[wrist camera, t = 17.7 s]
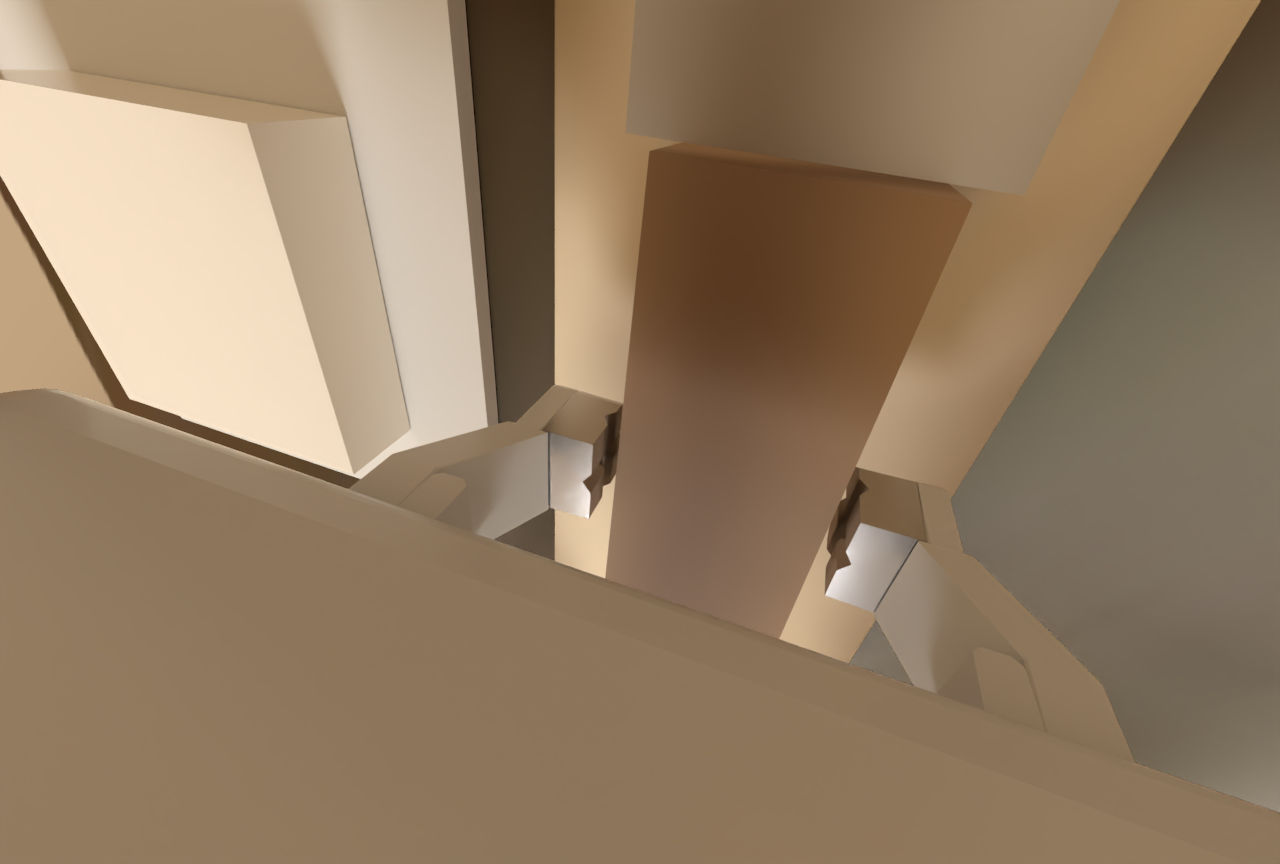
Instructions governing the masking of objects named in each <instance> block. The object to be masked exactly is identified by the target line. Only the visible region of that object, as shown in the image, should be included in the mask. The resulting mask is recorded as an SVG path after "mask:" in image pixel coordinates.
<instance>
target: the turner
mask: <svg viewBox="0 0 1280 864" xmlns="http://www.w3.org/2000/svg"><path fill="white" fill-rule="evenodd" d="M1119 2H1120V0H636V3H635V16H634V29H633V41H632V54H631V67H630V80H629V92H628V105H627V118H626V131H625V133H628V134H635V135H641V136H648V137H654V138H660V139H667V140H673V141H679V142H682V143H678V144H674V145H671V146H667V147H663V148H659V149H655V150H651V151H649V159H648V169H647V179H646V188H645V198H644V208H643V217H642V227H641V237H640V246H639V256H638V266H637V275H636V285H635V295H634V304H633V314H632V324H631V333H630V343H629V353H628V362H627V372H626V382H625V391H624V401H623V411H622V420H621V430H620V440H619V450H618V459H617V469H616V479H615V488H614V498H613V508H612V517H611V527H610V537H609V546H608V556H607V566H606V575H605V579H608V580H611V581H614V582H617V583H620V584H623V585H626V586H628V587H631V588H634V589H637V590H640V591H643V592H646V593H648V594H651V595H654V596H657V597H660V598H663V599H666V600H669V601H671V602H674V603H677V604H680V605H683V606H686V607H689V608H691V609H694V610H697V611H700V612H703V613H706V614H709V615H712V616H714V617H717V618H720V619H723V620H726V621H729V622H732V623H734V624H737V625H740V626H743V627H746V628H749V629H752V630H755V631H757V632H760V633H763V634H766V635H769V636H772V637H775V638H777V639H779V638H780V636H781V634H782V631H783V629H784V627H785V625H786V622H787V620H788V618H789V616H790V613H791V611H792V609H793V607H794V604H795V602H796V600H797V598H798V595H799V593H800V591H801V589H802V586H803V584H804V582H805V580H806V577H807V575H808V573H809V571H810V568H811V566H812V564H813V562H814V559H815V557H816V555H817V553H818V550H819V548H820V546H821V544H822V541H823V539H824V537H825V535H826V532H827V530H828V528H829V526H830V523H831V521H832V519H833V517H834V514H835V512H836V510H837V508H838V505H839V503H840V501H841V499H842V496H843V494H844V492H845V490H846V487H847V485H848V483H849V481H850V478H851V476H852V474H853V472H854V469H855V467H856V465H857V463H858V460H859V458H860V456H861V454H862V451H863V449H864V447H865V445H866V442H867V440H868V438H869V436H870V433H871V431H872V429H873V427H874V424H875V422H876V420H877V418H878V415H879V413H880V411H881V409H882V406H883V404H884V402H885V400H886V397H887V395H888V393H889V391H890V388H891V386H892V384H893V382H894V379H895V377H896V375H897V373H898V370H899V368H900V366H901V364H902V361H903V359H904V357H905V355H906V352H907V350H908V348H909V346H910V344H911V341H912V339H913V337H914V335H915V332H916V330H917V328H918V326H919V323H920V321H921V319H922V317H923V314H924V312H925V310H926V308H927V305H928V303H929V301H930V299H931V296H932V294H933V292H934V290H935V287H936V285H937V283H938V281H939V278H940V276H941V274H942V272H943V269H944V267H945V265H946V263H947V260H948V258H949V256H950V254H951V251H952V249H953V247H954V245H955V242H956V240H957V238H958V236H959V233H960V231H961V229H962V227H963V224H964V222H965V220H966V218H967V215H968V213H969V211H970V209H971V206H972V204H973V203H971V202H970V201H969V200H968V199H966V198H965V197H964V196H963V195H962V194H960V193H959V192H958V191H957V190H956V189H954V188H953V187H952V186H951V185H949V184H954V185H960V186H967V187H973V188H979V189H986V190H992V191H999V192H1005V193H1011V194H1018V195H1024V194H1025V192H1026V190H1027V188H1028V186H1029V184H1030V182H1031V180H1032V178H1033V176H1034V174H1035V172H1036V170H1037V168H1038V166H1039V164H1040V162H1041V160H1042V158H1043V156H1044V154H1045V152H1046V150H1047V148H1048V146H1049V144H1050V142H1051V140H1052V138H1053V136H1054V134H1055V132H1056V130H1057V128H1058V126H1059V124H1060V122H1061V120H1062V117H1063V115H1064V113H1065V111H1066V109H1067V107H1068V105H1069V103H1070V101H1071V99H1072V97H1073V95H1074V93H1075V91H1076V89H1077V87H1078V85H1079V83H1080V81H1081V79H1082V77H1083V75H1084V73H1085V71H1086V69H1087V67H1088V65H1089V63H1090V61H1091V59H1092V57H1093V55H1094V53H1095V51H1096V49H1097V47H1098V45H1099V43H1100V41H1101V39H1102V36H1103V34H1104V32H1105V30H1106V28H1107V26H1108V24H1109V22H1110V20H1111V18H1112V16H1113V14H1114V12H1115V10H1116V8H1117V6H1118V4H1119Z"/></svg>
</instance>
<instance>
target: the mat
mask: <svg viewBox="0 0 1280 864" xmlns="http://www.w3.org/2000/svg"><path fill="white" fill-rule="evenodd" d="M0 69H3V70H69V71H75V72H81V73H87V74H93V75H99V76H105V77H111V78H117V79H123V80H129V81H135V82H141V83H147V84H153V85H159V86H165V87H171V88H177V89H183V90H189V91H195V92H201V93H207V94H213V95H219V96H225V97H231V98H237V99H243V100H249V101H255V102H261V103H267V104H273V105H279V106H285V107H291V108H297V109H303V110H309V111H315V112H321V113H327V114H333V115H339V116H345V117H346V119H347V124H348V129H349V134H350V139H351V144H352V149H353V153H354V158H355V163H356V168H357V173H358V178H359V183H360V188H361V192H362V197H363V202H364V207H365V212H366V217H367V222H368V226H369V231H370V236H371V241H372V246H373V251H374V256H375V261H376V265H377V270H378V275H379V280H380V285H381V290H382V295H383V300H384V304H385V309H386V314H387V319H388V324H389V329H390V334H391V339H392V343H393V348H394V353H395V358H396V363H397V368H398V373H399V377H400V382H401V387H402V392H403V397H404V402H405V407H406V412H407V416H408V421H409V426H410V431H408V432H407V433H406V434H404V435H403V436H402V437H401V438H399V439H398V440H397V441H396V442H394V443H393V444H392V445H391V446H389V447H388V448H387V449H386V450H384V451H383V452H382V453H380V454H379V455H378V456H377V457H375V458H374V459H373V460H372V461H370V462H369V463H368V464H367V465H365V466H364V467H363V468H362V469H360V470H359V471H358V472H356V473H355V474H354V475H353V474H350V473H347V472H344V471H342V470H339V469H336V468H333V467H330V466H327V465H324V464H321V463H318V462H315V461H312V460H309V459H306V458H303V457H300V456H297V455H294V454H291V453H288V452H285V451H282V450H279V449H277V448H274V447H271V446H268V445H265V444H262V443H259V442H256V441H253V440H250V439H247V438H244V437H241V436H238V435H235V434H232V433H229V432H226V431H223V430H220V429H217V428H215V427H212V426H209V425H206V424H203V423H200V422H197V421H194V420H191V419H188V418H185V417H182V416H181V418H183V419H186V420H189V421H192V422H194V423H197V424H200V425H203V426H206V427H209V428H212V429H215V430H218V431H221V432H224V433H227V434H230V435H233V436H236V437H239V438H242V439H245V440H247V441H250V442H253V443H256V444H259V445H262V446H265V447H268V448H271V449H274V450H277V451H280V452H283V453H286V454H289V455H292V456H295V457H298V458H301V459H303V460H306V461H309V462H312V463H315V464H318V465H321V466H324V467H327V468H330V469H333V470H336V471H339V472H342V473H345V474H348V475H351V476H354V477H356V478H359V479H362V478H363V477H364V476H365V475H367V474H368V473H369V472H370V471H372V470H373V469H374V468H375V467H377V466H378V465H379V464H380V463H382V462H383V461H384V460H385V459H387V458H388V457H389V456H390V455H392V454H394V453H397V452H401V451H404V450H408V449H411V448H415V447H418V446H422V445H426V444H429V443H433V442H436V441H440V440H443V439H447V438H450V437H454V436H458V435H461V434H465V433H468V432H472V431H475V430H479V429H482V428H486V427H490V426H493V425H497V424H499V423H498V410H497V397H496V385H495V372H494V360H493V347H492V334H491V322H490V309H489V297H488V284H487V272H486V259H485V246H484V234H483V221H482V209H481V196H480V183H479V171H478V158H477V146H476V133H475V121H474V108H473V95H472V83H471V70H470V58H469V45H468V32H467V20H466V7H465V0H0Z"/></svg>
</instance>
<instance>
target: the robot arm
mask: <svg viewBox="0 0 1280 864" xmlns="http://www.w3.org/2000/svg"><path fill="white" fill-rule="evenodd" d="M622 411H623V403H620V402H617V401H614V400H610V399H607V398H603V397H600V396H596V395H593V394H590V393H586V392H583V391H578V390H576V389H572V388H568V387H565V386H561V385H553V386H552V387H551V388H550V389H549V390H548V391H547V392H546V393H545V394H544V395H543V396H542V397H541V398H540V399H539V400H538V401H537V402H536V403H535V404H534V405H533V406H532V407H531V408H530V409H529V410H528V411H527V412H526V413H525V414H524V415H523V416H522V417H521V418H520V419H519V420H518V421H517V422H516V423H514V422H510V421H507V422H504V423H500V424H497V425H493V426H490V427H486V428H482V429H479V430H475V431H472V432H468V433H465V434H461V435H458V436H454V437H450V438H447V439H443V440H440V441H436V442H433V443H429V444H426V445H422V446H418V447H415V448H411V449H408V450H404V451H401V452H397V453H394V454H392V455H390V456H389V457H388V458H387V459H385V460H384V461H383V462H382V463H380V464H379V465H378V466H377V467H375V468H374V469H373V470H372V471H370V472H369V473H368V474H367V475H365V476H364V477H363V478H362V479H360V480H359V481H358V482H357V483H355V484H354V485H353V486H352V487H350V488H349V489H346V488H343V487H341V486H338V485H335V484H332V483H329V482H326V481H323V480H320V479H318V478H315V477H312V476H309V475H306V474H303V473H300V472H297V471H295V470H292V469H289V468H286V467H283V466H280V465H277V464H274V463H271V462H269V461H266V460H263V459H260V458H257V457H254V456H251V455H248V454H246V453H243V452H240V451H237V450H234V449H231V448H228V447H225V446H223V445H220V444H217V443H214V442H211V441H208V440H205V439H202V438H200V437H197V436H194V435H191V434H188V433H185V432H182V431H179V430H177V429H174V428H171V427H168V426H165V425H162V424H159V423H156V422H154V421H151V420H148V419H145V418H142V417H139V416H136V415H134V414H131V413H128V412H125V411H122V410H119V409H116V408H113V407H111V406H107V405H105V404H102V403H99V402H96V401H93V400H91V399H88V398H85V397H82V396H79V395H76V394H73V393H70V392H66V391H61V390H57V389H32V390H21V391H12V392H4V393H0V864H1280V813H1278V812H1275V811H1272V810H1270V809H1267V808H1264V807H1261V806H1258V805H1255V804H1252V803H1249V802H1247V801H1244V800H1241V799H1238V798H1235V797H1232V796H1229V795H1226V794H1223V793H1221V792H1218V791H1215V790H1212V789H1209V788H1206V787H1203V786H1200V785H1198V784H1195V783H1192V782H1189V781H1186V780H1183V779H1180V778H1177V777H1174V776H1172V775H1169V774H1166V773H1163V772H1160V771H1157V770H1154V769H1151V768H1149V767H1146V766H1143V765H1140V764H1137V763H1135V761H1134V758H1133V756H1132V754H1131V751H1130V749H1129V747H1128V744H1127V742H1126V739H1125V737H1124V735H1123V732H1122V730H1121V728H1120V725H1119V723H1118V720H1117V718H1116V716H1115V713H1114V711H1113V709H1112V706H1111V704H1110V701H1109V699H1108V697H1107V694H1106V692H1105V690H1104V687H1103V685H1102V684H1101V683H1100V682H1099V681H1098V680H1097V679H1096V678H1095V677H1094V676H1093V675H1092V674H1091V673H1090V672H1089V671H1088V670H1087V669H1086V668H1085V667H1084V666H1083V665H1082V664H1081V663H1080V662H1079V661H1078V660H1077V659H1076V658H1075V657H1074V656H1073V655H1072V654H1071V653H1070V652H1069V651H1068V650H1067V649H1066V648H1065V647H1064V646H1063V645H1062V644H1061V643H1060V642H1059V641H1058V640H1057V639H1056V638H1055V637H1054V636H1053V635H1052V634H1051V633H1050V632H1049V631H1048V630H1047V629H1046V628H1045V627H1044V626H1043V625H1042V624H1041V623H1040V622H1039V621H1038V620H1037V619H1036V618H1035V617H1034V616H1033V615H1032V614H1031V613H1030V612H1029V611H1028V610H1027V609H1026V608H1025V607H1024V606H1023V605H1022V604H1021V603H1020V602H1019V601H1018V600H1017V599H1016V598H1015V597H1014V596H1013V595H1012V594H1011V593H1010V592H1009V591H1008V590H1007V589H1006V588H1005V587H1004V586H1003V585H1002V584H1001V583H1000V582H999V581H998V580H997V579H996V578H995V577H994V576H993V575H992V574H991V573H990V572H989V571H988V570H986V569H985V568H984V567H983V566H982V565H981V564H980V563H979V562H978V561H977V560H976V559H975V558H974V557H973V556H970V555H966V554H964V552H963V548H962V544H961V540H960V536H959V532H958V528H957V524H956V520H955V517H954V513H953V509H952V505H951V501H950V497H949V493H948V491H947V490H946V489H945V488H941V487H937V486H933V485H928V484H924V483H920V482H916V481H910V480H906V479H902V478H898V477H894V476H890V475H886V474H882V473H878V472H874V471H870V470H866V469H862V468H858V467H855V469H854V472H853V474H852V476H851V478H850V481H849V483H848V485H847V487H846V498H845V499H843V500H841V501H840V503H839V505H838V508H837V510H836V512H835V514H834V517H833V519H832V521H831V523H830V527H829V531H828V538H827V550H828V552H829V553H830V555H831V557H830V559H829V561H828V563H827V565H826V572H825V596H828V597H831V598H833V599H836V600H839V601H842V602H845V603H848V604H850V605H853V606H856V607H859V608H862V609H865V610H868V611H870V612H873V613H874V614H873V615H874V617H875V619H876V620H877V622H878V624H879V626H880V627H881V629H882V631H883V633H884V634H885V636H886V638H887V640H888V641H889V643H890V645H891V647H892V648H893V650H894V652H895V654H896V655H897V657H898V659H899V661H900V662H901V664H902V666H903V668H904V669H905V671H906V673H907V675H908V676H909V678H910V680H911V682H912V683H913V685H914V686H913V685H910V684H907V683H904V682H901V681H898V680H895V679H893V678H890V677H887V676H884V675H881V674H878V673H875V672H872V671H870V670H867V669H864V668H861V667H858V666H855V665H852V664H849V663H846V662H844V661H841V660H838V659H835V658H832V657H829V656H826V655H823V654H821V653H818V652H815V651H812V650H809V649H806V648H803V647H800V646H798V645H795V644H792V643H789V642H786V641H783V640H780V639H777V638H775V637H772V636H769V635H766V634H763V633H760V632H757V631H755V630H752V629H749V628H746V627H743V626H740V625H737V624H734V623H732V622H729V621H726V620H723V619H720V618H717V617H714V616H712V615H709V614H706V613H703V612H700V611H697V610H694V609H691V608H689V607H686V606H683V605H680V604H677V603H674V602H671V601H669V600H666V599H663V598H660V597H657V596H654V595H651V594H648V593H646V592H643V591H640V590H637V589H634V588H631V587H628V586H626V585H623V584H620V583H617V582H614V581H611V580H608V579H605V578H603V577H600V576H597V575H594V574H591V573H588V572H585V571H582V570H579V569H576V568H574V567H571V566H568V565H565V564H562V563H559V562H556V561H553V560H550V559H548V558H545V557H542V556H539V555H536V554H533V553H530V552H527V551H524V550H521V549H519V548H516V547H513V546H510V545H507V544H504V543H501V542H498V541H495V540H493V539H495V538H497V537H499V536H501V535H502V534H504V533H506V532H508V531H510V530H512V529H513V528H515V527H517V526H519V525H521V524H523V523H524V522H526V521H528V520H530V519H532V518H534V517H535V516H537V515H539V514H541V513H543V512H545V511H546V510H548V507H550V508H553V509H557V510H560V511H563V512H567V513H570V514H574V515H577V516H580V517H584V518H587V519H589V518H590V516H591V515H592V513H593V511H594V510H595V508H596V506H597V505H598V503H599V502H600V500H601V498H602V493H603V486H605V485H607V484H610V483H611V481H612V480H613V478H614V476H615V474H616V469H617V459H618V450H619V440H620V430H621V420H622Z"/></svg>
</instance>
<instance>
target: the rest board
mask: <svg viewBox="0 0 1280 864" xmlns="http://www.w3.org/2000/svg"><path fill="white" fill-rule="evenodd" d="M1260 1H1261V0H1120V2H1119V4H1118V6H1117V8H1116V10H1115V12H1114V14H1113V16H1112V18H1111V20H1110V22H1109V24H1108V26H1107V28H1106V30H1105V32H1104V34H1103V36H1102V39H1101V41H1100V43H1099V45H1098V47H1097V49H1096V51H1095V53H1094V55H1093V57H1092V59H1091V61H1090V63H1089V65H1088V67H1087V69H1086V71H1085V73H1084V75H1083V77H1082V79H1081V81H1080V83H1079V85H1078V87H1077V89H1076V91H1075V93H1074V95H1073V97H1072V99H1071V101H1070V103H1069V105H1068V107H1067V109H1066V111H1065V113H1064V115H1063V117H1062V120H1061V122H1060V124H1059V126H1058V128H1057V130H1056V132H1055V134H1054V136H1053V138H1052V140H1051V142H1050V144H1049V146H1048V148H1047V150H1046V152H1045V154H1044V156H1043V158H1042V160H1041V162H1040V164H1039V166H1038V168H1037V170H1036V172H1035V174H1034V176H1033V178H1032V180H1031V182H1030V184H1029V186H1028V188H1027V190H1026V192H1025V194H1024V195H1018V194H1011V193H1005V192H999V191H992V190H986V189H979V188H973V187H967V186H960V185H954V184H949V185H951V186H952V187H953V188H954V189H956V190H957V191H958V192H959V193H960V194H962V195H963V196H964V197H965V198H966V199H968V200H969V201H970V202H971V203H973V204H972V206H971V209H970V211H969V213H968V215H967V218H966V220H965V222H964V224H963V227H962V229H961V231H960V233H959V236H958V238H957V240H956V242H955V245H954V247H953V249H952V251H951V254H950V256H949V258H948V260H947V263H946V265H945V267H944V269H943V272H942V274H941V276H940V278H939V281H938V283H937V285H936V287H935V290H934V292H933V294H932V296H931V299H930V301H929V303H928V305H927V308H926V310H925V312H924V314H923V317H922V319H921V321H920V323H919V326H918V328H917V330H916V332H915V335H914V337H913V339H912V341H911V344H910V346H909V348H908V350H907V352H906V355H905V357H904V359H903V361H902V364H901V366H900V368H899V370H898V373H897V375H896V377H895V379H894V382H893V384H892V386H891V388H890V391H889V393H888V395H887V397H886V400H885V402H884V404H883V406H882V409H881V411H880V413H879V415H878V418H877V420H876V422H875V424H874V427H873V429H872V431H871V433H870V436H869V438H868V440H867V442H866V445H865V447H864V449H863V451H862V454H861V456H860V458H859V460H858V463H857V465H856V467H858V468H862V469H866V470H870V471H874V472H878V473H882V474H886V475H890V476H894V477H898V478H902V479H906V480H910V481H916V482H920V483H924V484H928V485H933V486H937V487H941V488H945V489H946V490H947V491H948V493H949V497H950V500H951V498H952V497H953V495H954V493H955V492H956V490H957V489H958V487H959V485H960V484H961V482H962V481H963V479H964V477H965V476H966V474H967V473H968V471H969V469H970V468H971V466H972V464H973V463H974V461H975V460H976V458H977V456H978V455H979V453H980V452H981V450H982V448H983V447H984V445H985V444H986V442H987V440H988V439H989V437H990V436H991V434H992V432H993V431H994V429H995V427H996V426H997V424H998V423H999V421H1000V419H1001V418H1002V416H1003V415H1004V413H1005V411H1006V410H1007V408H1008V407H1009V405H1010V403H1011V402H1012V400H1013V399H1014V397H1015V395H1016V394H1017V392H1018V390H1019V389H1020V387H1021V386H1022V384H1023V382H1024V381H1025V379H1026V378H1027V376H1028V374H1029V373H1030V371H1031V370H1032V368H1033V366H1034V365H1035V363H1036V362H1037V360H1038V358H1039V357H1040V355H1041V353H1042V352H1043V350H1044V349H1045V347H1046V345H1047V344H1048V342H1049V341H1050V339H1051V337H1052V336H1053V334H1054V333H1055V331H1056V329H1057V328H1058V326H1059V325H1060V323H1061V321H1062V320H1063V318H1064V317H1065V315H1066V313H1067V312H1068V310H1069V308H1070V307H1071V305H1072V304H1073V302H1074V300H1075V299H1076V297H1077V296H1078V294H1079V292H1080V291H1081V289H1082V288H1083V286H1084V284H1085V283H1086V281H1087V280H1088V278H1089V276H1090V275H1091V273H1092V271H1093V270H1094V268H1095V267H1096V265H1097V263H1098V262H1099V260H1100V259H1101V257H1102V255H1103V254H1104V252H1105V251H1106V249H1107V247H1108V246H1109V244H1110V243H1111V241H1112V239H1113V238H1114V236H1115V234H1116V233H1117V231H1118V230H1119V228H1120V226H1121V225H1122V223H1123V222H1124V220H1125V218H1126V217H1127V215H1128V214H1129V212H1130V210H1131V209H1132V207H1133V206H1134V204H1135V202H1136V201H1137V199H1138V198H1139V196H1140V194H1141V193H1142V191H1143V189H1144V188H1145V186H1146V185H1147V183H1148V181H1149V180H1150V178H1151V177H1152V175H1153V173H1154V172H1155V170H1156V169H1157V167H1158V165H1159V164H1160V162H1161V161H1162V159H1163V157H1164V156H1165V154H1166V152H1167V151H1168V149H1169V148H1170V146H1171V144H1172V143H1173V141H1174V140H1175V138H1176V136H1177V135H1178V133H1179V132H1180V130H1181V128H1182V127H1183V125H1184V124H1185V122H1186V120H1187V119H1188V117H1189V115H1190V114H1191V112H1192V111H1193V109H1194V107H1195V106H1196V104H1197V103H1198V101H1199V99H1200V98H1201V96H1202V95H1203V93H1204V91H1205V90H1206V88H1207V87H1208V85H1209V83H1210V82H1211V80H1212V79H1213V77H1214V75H1215V74H1216V72H1217V70H1218V69H1219V67H1220V66H1221V64H1222V62H1223V61H1224V59H1225V58H1226V56H1227V54H1228V53H1229V51H1230V50H1231V48H1232V46H1233V45H1234V43H1235V42H1236V40H1237V38H1238V37H1239V35H1240V33H1241V32H1242V30H1243V29H1244V27H1245V25H1246V24H1247V22H1248V21H1249V19H1250V17H1251V16H1252V14H1253V13H1254V11H1255V9H1256V8H1257V6H1258V5H1259V3H1260ZM635 3H636V0H555V385H561V386H565V387H568V388H572V389H576V390H578V391H583V392H586V393H590V394H593V395H596V396H600V397H603V398H607V399H610V400H614V401H617V402H620V403H623V401H624V391H625V382H626V372H627V362H628V353H629V343H630V333H631V324H632V314H633V304H634V295H635V285H636V275H637V266H638V256H639V246H640V237H641V227H642V217H643V208H644V198H645V188H646V179H647V169H648V159H649V151H651V150H655V149H659V148H663V147H667V146H671V145H674V144H678V143H682V142H679V141H673V140H667V139H660V138H654V137H648V136H641V135H635V134H628V133H625V131H626V118H627V105H628V92H629V80H630V67H631V54H632V41H633V29H634V16H635ZM615 479H616V474H615V476H614V478H613V480H612V481H611V483H610V484H607V485H605V486H603V493H602V498H601V500H600V502H599V503H598V505H597V506H596V508H595V510H594V511H593V513H592V515H591V516H590V518H589V519H587V518H584V517H580V516H577V515H574V514H570V513H567V512H563V511H560V510H557V509H555V561H556V562H559V563H562V564H565V565H568V566H571V567H574V568H576V569H579V570H582V571H585V572H588V573H591V574H594V575H597V576H600V577H603V578H605V575H606V566H607V556H608V546H609V537H610V527H611V517H612V508H613V498H614V488H615ZM845 498H846V490H845V492H844V494H843V496H842V499H841V500H843V499H845ZM829 527H830V526H829ZM828 531H829V528H828V530H827V532H826V535H825V537H824V539H823V541H822V544H821V546H820V548H819V550H818V553H817V555H816V557H815V559H814V562H813V564H812V566H811V568H810V571H809V573H808V575H807V577H806V580H805V582H804V584H803V586H802V589H801V591H800V593H799V595H798V598H797V600H796V602H795V604H794V607H793V609H792V611H791V613H790V616H789V618H788V620H787V622H786V625H785V627H784V629H783V631H782V634H781V636H780V638H779V639H780V640H783V641H786V642H789V643H792V644H795V645H798V646H800V647H803V648H806V649H809V650H812V651H815V652H818V653H821V654H823V655H826V656H829V657H832V658H835V659H838V660H841V661H844V662H846V663H849V662H850V661H851V659H852V657H853V656H854V654H855V653H856V651H857V649H858V648H859V646H860V645H861V643H862V641H863V640H864V638H865V637H866V635H867V633H868V632H869V630H870V628H871V627H872V625H873V624H874V622H875V620H876V619H875V617H874V615H873V614H874V613H873V612H870V611H868V610H865V609H862V608H859V607H856V606H853V605H850V604H848V603H845V602H842V601H839V600H836V599H833V598H831V597H828V596H825V572H826V565H827V563H828V561H829V559H830V557H831V555H830V553H829V552H828V550H827V538H828Z"/></svg>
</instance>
